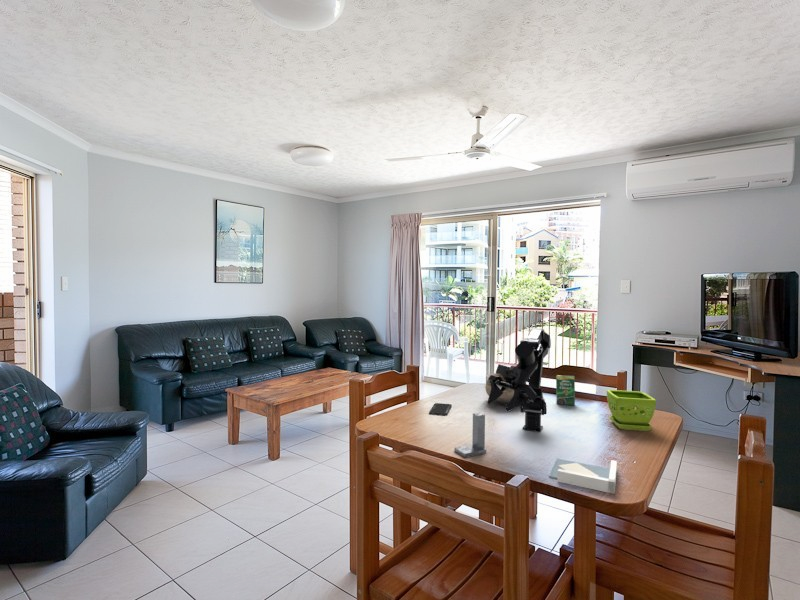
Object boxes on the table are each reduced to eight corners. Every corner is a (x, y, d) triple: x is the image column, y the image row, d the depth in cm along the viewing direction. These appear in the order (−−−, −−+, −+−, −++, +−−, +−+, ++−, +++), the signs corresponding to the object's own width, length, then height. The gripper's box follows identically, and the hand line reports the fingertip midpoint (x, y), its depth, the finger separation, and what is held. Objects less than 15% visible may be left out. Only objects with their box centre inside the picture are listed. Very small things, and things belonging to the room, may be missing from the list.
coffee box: (555, 404, 193) (556, 375, 192) (555, 402, 196) (556, 374, 195) (574, 405, 190) (575, 377, 190) (574, 404, 193) (574, 375, 192)
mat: (556, 459, 130) (556, 458, 130) (610, 470, 123) (610, 468, 123) (549, 477, 118) (549, 475, 118) (608, 490, 111) (608, 488, 111)
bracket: (476, 446, 140) (477, 411, 140) (487, 452, 135) (487, 415, 135) (454, 451, 136) (455, 414, 136) (464, 457, 131) (464, 419, 131)
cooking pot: (523, 413, 179) (524, 384, 178) (479, 407, 186) (479, 380, 186) (530, 399, 202) (531, 373, 201) (491, 394, 209) (491, 370, 209)
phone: (452, 404, 189) (447, 413, 174) (452, 406, 189) (447, 416, 174) (434, 403, 191) (428, 412, 176) (434, 405, 191) (428, 414, 177)
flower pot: (656, 434, 154) (657, 399, 153) (615, 431, 156) (616, 397, 156) (642, 422, 167) (643, 390, 167) (604, 419, 170) (605, 388, 170)
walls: (565, 461, 129) (565, 451, 129) (616, 471, 122) (616, 461, 122) (557, 481, 115) (557, 470, 115) (614, 493, 109) (614, 482, 109)
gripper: (492, 352, 150) (466, 385, 146) (530, 360, 134) (502, 398, 129) (509, 372, 154) (484, 405, 149) (548, 382, 137) (521, 420, 133)
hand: (497, 407), depth 140 cm, fingers open, 9 cm apart
